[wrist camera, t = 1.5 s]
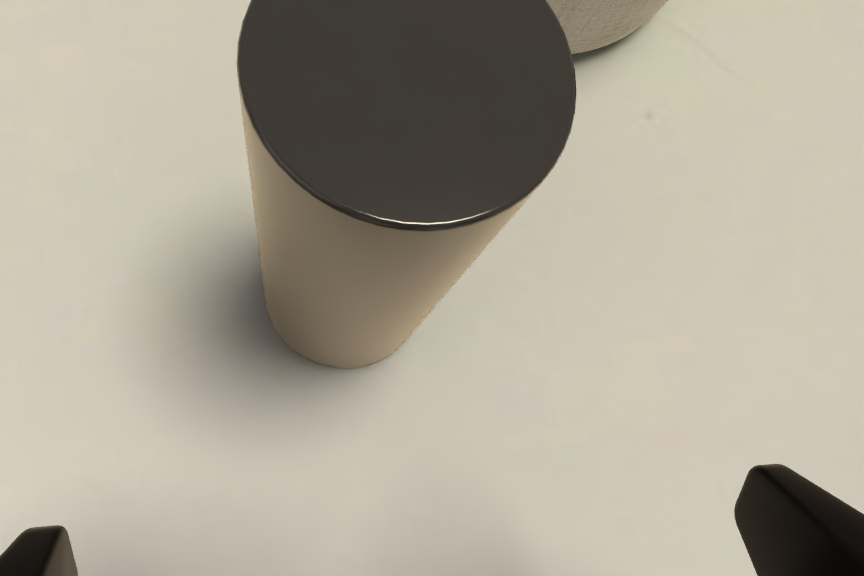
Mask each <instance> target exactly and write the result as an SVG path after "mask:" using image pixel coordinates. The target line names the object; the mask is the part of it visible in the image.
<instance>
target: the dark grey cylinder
mask: <svg viewBox="0 0 864 576" xmlns="http://www.w3.org/2000/svg"><path fill="white" fill-rule="evenodd" d="M237 71H238V82H239V91H240V99H241V107H242V116H243V124H244V132H245V140H246V148H247V156H248V164H249V172H250V180H251V189H252V197H253V205H254V213H255V221H256V229H257V237H258V245H259V254H260V262H261V270H262V278H263V286H264V294H265V302H266V307H267V311H268V314H269V317H270V319H271V322H272V324H273V326H274V327H275V329H276V331H277V332H278V334H279V335H280V336H281V338H282V339H283V340H284V341H285V342H286V343H287V344H288V346H289V347H290V348H292V349H293V350H294V351H296V352H297V353H298V354H300V355H301V356H303V357H305V358H306V359H308V360H310V361H313V362H315V363H317V364H321V365H324V366H328V367H335V368H356V367H362V366H366V365H370V364H372V363H375V362H378V361H380V360H382V359H384V358H385V357H387V356H389V355H390V354H392V353H393V352H394V351H396V350H397V349H398V348H399V347H400V346H401V345H402V344H403V343H404V342H405V341H406V340H407V338H408V337H409V336H410V335H411V334H412V333H413V332H414V330H415V329H416V328H417V327H418V326H419V325H420V323H421V322H422V321H423V320H424V319H425V318H426V316H427V315H428V314H429V313H430V312H431V311H432V310H433V308H434V307H435V306H436V305H437V304H438V303H439V301H440V300H441V299H442V298H443V297H444V296H445V294H446V293H447V292H448V291H449V290H450V289H451V287H452V286H453V285H454V284H455V283H456V282H457V281H458V279H459V278H460V277H461V276H462V275H463V274H464V272H465V271H466V270H467V269H468V268H469V267H470V265H471V264H472V263H473V262H474V261H475V260H476V258H477V257H478V256H479V255H480V254H481V253H482V252H483V250H484V249H485V248H486V247H487V246H488V245H489V243H490V242H491V241H492V240H493V239H494V238H495V236H496V235H497V234H498V233H499V232H500V231H501V229H502V228H503V227H504V226H505V225H506V224H507V223H508V221H509V220H510V219H511V218H512V217H513V216H514V214H515V213H516V212H517V211H518V210H519V209H520V207H521V206H522V205H523V204H524V203H525V202H526V200H527V199H528V198H529V197H530V196H531V195H532V194H533V192H534V191H535V190H536V189H537V188H538V187H539V185H540V184H541V183H542V182H543V181H544V179H545V178H546V177H547V175H548V174H549V173H550V172H551V170H552V169H553V168H554V166H555V165H556V163H557V161H558V159H559V157H560V156H561V154H562V152H563V150H564V148H565V145H566V143H567V140H568V137H569V135H570V132H571V128H572V123H573V119H574V114H575V104H576V80H575V69H574V64H573V59H572V54H571V50H570V48H569V45H568V42H567V39H566V36H565V33H564V31H563V29H562V27H561V25H560V23H559V21H558V19H557V17H556V15H555V13H554V12H553V10H552V9H551V7H550V5H549V4H548V2H547V1H546V0H251V2H250V4H249V6H248V9H247V12H246V14H245V17H244V19H243V22H242V26H241V31H240V36H239V40H238V51H237Z"/></svg>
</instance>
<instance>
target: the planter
mask: <svg viewBox="0 0 864 576" xmlns="http://www.w3.org/2000/svg"><path fill="white" fill-rule="evenodd" d="M546 1H547V2H548V4H549V5H550V7H551V9H552V10H553V12H554V13H555V15H556V17H557V19H558V21H559V23H560V25H561V27H562V29H563V31H564V33H565V36H566V39H567V42H568V45H569V48H570V50H571V54H577V53H583V52H587V51H591V50H595V49H598V48H601V47H604V46H607V45H609V44H611V43H614V42H616V41H618V40H620V39H622V38H624V37H625V36H627V35H629V34H630V33H632V32H633V31H635V30H636V29H637V28H639V27H640V26H641V25H642V24H644V23H645V22H646V21H647V20H648V19H650V18H651V17H652V16H653V15H654V14H655V13H656V12H657V11H658V10H659V9H660V8H661V7H662V6H663V5H664V4H665V3H666V2H667V1H668V0H546Z"/></svg>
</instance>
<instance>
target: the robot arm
mask: <svg viewBox="0 0 864 576" xmlns="http://www.w3.org/2000/svg"><path fill="white" fill-rule="evenodd" d="M734 512H735V520H736V524H737V526H738V529H739V531H740V534H741V536H742V539H743V541H744V544H745V546H746V548H747V551H748V553H749V556H750V558H751V561H752V563H753V566H754V568H755V570H756V573H757V575H758V576H864V514H862V513H861V512H859V511H857V510H856V509H854V508H853V507H851V506H849V505H848V504H846V503H844V502H843V501H841V500H840V499H838V498H836V497H835V496H833V495H832V494H830V493H828V492H827V491H825V490H823V489H822V488H820V487H819V486H817V485H815V484H814V483H812V482H810V481H809V480H807V479H806V478H804V477H802V476H801V475H799V474H798V473H796V472H794V471H793V470H791V469H789V468H788V467H786V466H784V465H781V464H770V465H758V466H754V467H753V468H752V469H751V470H750V471H749V473H748V475H747V477H746V480H745V482H744V485H743V487H742V489H741V492H740V494H739V497H738V499H737V502H736V504H735V511H734ZM0 576H78V573H77V567H76V563H75V559H74V556H73V552H72V548H71V544H70V540H69V536H68V532H67V530H66V529H65V528H64V527H63V526H59V525H57V526H45V527H34V528H29V529H27V530H25V531H24V532H22V533H21V534H20V535H19V536H18V537H17V538H16V540H15V541H14V542H13V543H12V544H11V545H10V546H9V547H8V548H7V549H6V550H5V551H4V553H3V554H2V555H1V556H0Z"/></svg>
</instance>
